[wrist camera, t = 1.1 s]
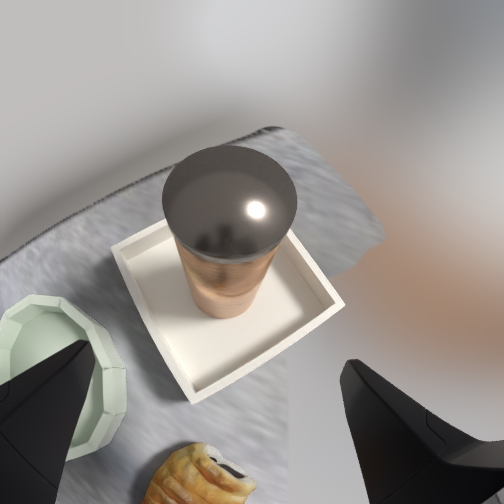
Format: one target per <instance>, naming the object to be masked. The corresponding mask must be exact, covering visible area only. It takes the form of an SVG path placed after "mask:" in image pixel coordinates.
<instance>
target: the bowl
mask: <svg viewBox="0 0 504 504" xmlns="http://www.w3.org/2000/svg"><path fill="white" fill-rule="evenodd" d="M79 339H83V340H87V341H90V343H91V345H92V348H93V352H94V355H95V360H96V362H95V367H94V371H93V374H92V378H91V382H90V386H89V389H88V393H87V397H86V400H85V403H84V406H83V409H82V411H81V414H80V417H79V420H78V423H77V426H76V429H75V432H74V435H73V438H72V441H71V444H70V447H69V451H68V454H67V457H66V461H68V460H72V459H74V458H77V457H80V456H83V455H86V454H89V453H91V452H94V451H96V450H98V449H100V448H102V447H104V446H105V445H107V444H109V443H110V442H111V440H112V438H113V437H114V435H115V433H116V431H117V429H118V427H119V426H120V424H121V422H122V420H123V418H124V416H125V415H126V413H127V394H126V369H125V366H124V364H123V362H122V360H121V358H120V356H119V354H118V352H117V350H116V348H115V346H114V344H113V341H112V339H111V337H110V335H109V333H108V331H107V329H106V328H104V327H103V326H102V325H100V324H99V323H98V322H97V321H95V320H94V319H93V318H91V317H90V316H89V315H88V314H87V313H85V312H84V311H83V310H82V309H80V308H79V307H78V306H76V305H74V304H73V303H71V302H69V301H68V300H66V299H64V298H63V297H55V296H43V295H32V294H31V295H29V296H27V297H26V298H24V299H23V300H21V301H20V302H18V303H17V304H15V305H14V306H12V307H11V308H9V309H8V310H7V311H5V312H4V314H3V317H2V319H1V321H0V385H2V384H3V383H5V382H7V381H8V380H11V379H12V378H14V377H15V376H17V375H19V374H20V373H22V372H24V371H25V370H27V369H29V368H31V367H32V366H34V365H36V364H37V363H39V362H41V361H43V360H44V359H46V358H48V357H49V356H51V355H53V354H55V353H56V352H58V351H60V350H61V349H63V348H65V347H67V346H68V345H70V344H72V343H74V342H75V341H77V340H79Z"/></svg>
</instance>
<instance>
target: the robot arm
mask: <svg viewBox="0 0 504 504" xmlns="http://www.w3.org/2000/svg"><path fill="white" fill-rule="evenodd" d="M95 362H96V360H95V355H94V352H93V348H92V345H91V343H90V341H87V340H83V339H79V340H77V341H75V342H74V343H72V344H70V345H68V346H67V347H65V348H63V349H61V350H60V351H58V352H56V353H55V354H53V355H51V356H49V357H48V358H46V359H44V360H43V361H41V362H39V363H37V364H36V365H34V366H32V367H31V368H29V369H27V370H25V371H24V372H22V373H20V374H19V375H17V376H15V377H14V378H12V379H11V380H8V381H7V382H5V383H3V384H2V385H0V504H55V501H56V497H57V492H58V488H59V483H60V479H61V476H62V472H63V468H64V464H65V461H66V457H67V454H68V451H69V447H70V444H71V441H72V438H73V435H74V432H75V429H76V426H77V423H78V420H79V417H80V414H81V411H82V409H83V406H84V403H85V400H86V397H87V393H88V389H89V386H90V382H91V378H92V374H93V371H94V367H95ZM340 385H341V390H342V396H343V401H344V407H345V413H346V418H347V422H348V425H349V428H350V432H351V435H352V439H353V441H354V446H355V449H356V453H357V457H358V460H359V464H360V468H361V471H362V475H363V479H364V483H365V487H366V491H367V495H368V499H369V503H370V504H504V440H501V441H492V442H486V441H481V440H478V439H476V438H473V437H471V436H470V435H468V434H466V433H464V432H463V431H461V430H459V429H457V428H455V427H453V426H451V425H450V424H448V423H447V422H445V421H443V420H442V419H440V418H439V417H437V416H436V415H434V414H432V412H430V411H429V410H427V409H425V408H424V407H423V406H422V405H420V404H419V403H418V402H416V401H415V400H413V399H412V398H411V397H409V396H408V395H406V394H405V393H404V392H402V391H401V390H399V389H398V388H397V387H395V386H394V385H393V384H391V383H390V382H388V381H387V380H386V379H384V378H383V377H382V376H380V375H379V374H378V373H376V372H375V371H374V370H372V369H371V368H370V367H368V366H367V365H365V364H364V363H363V362H361V361H360V360H358V359H351V360H347V361H346V363H345V366H344V368H343V371H342V373H341V376H340Z"/></svg>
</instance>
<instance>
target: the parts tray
mask: <svg viewBox="0 0 504 504" xmlns="http://www.w3.org/2000/svg"><path fill="white" fill-rule="evenodd" d="M110 248H111V250H112V253H113V255H114V258H115V260H116V262H117V265H118V267H119V270H120V272H121V274H122V277H123V279H124V281H125V283H126V286H127V288H128V290H129V292H130V294H131V297H132V299H133V301H134V303H135V305H136V307H137V309H138V311H139V313H140V315H141V317H142V319H143V321H144V323H145V325H146V327H147V329H148V331H149V333H150V335H151V337H152V339H153V340H154V342H155V344H156V346H157V348H158V350H159V351H160V353H161V355H162V357H163V359H164V360H165V362H166V364H167V365H168V367H169V369H170V371H171V372H172V374H173V376H174V377H175V379H176V381H177V382H178V384H179V385H180V387H181V389H182V390H183V392H184V393H185V395H186V396H187V398H188V400H189V401H190V403H191V404H192V405H194V404H195V403H197V402H199V401H201V400H203V399H205V398H206V397H208V396H210V395H212V394H214V393H215V392H217V391H219V390H221V389H222V388H224V387H226V386H227V385H229V384H231V383H233V382H234V381H236V380H238V379H239V378H241V377H243V376H244V375H246V374H247V373H249V372H251V371H252V370H254V369H255V368H257V367H259V366H260V365H262V364H263V363H265V362H266V361H268V360H269V359H271V358H272V357H274V356H276V355H277V354H279V353H280V352H282V351H283V350H284V349H286V348H287V347H289V346H290V345H292V344H293V343H295V342H296V341H298V340H299V339H300V338H302V337H303V336H305V335H306V334H307V333H309V332H310V331H312V330H313V329H314V328H316V327H317V326H319V325H320V324H321V323H323V322H324V321H325V320H327V319H328V318H329V317H331V316H332V315H333V314H335V313H336V312H337V311H339V310H340V309H341V308H342V307H344V306H345V304H344V302H343V301H342V299H341V298H340V296H339V295H338V294H337V292H336V291H335V289H334V288H333V287H332V285H331V284H330V282H329V281H328V280H327V278H326V277H325V275H324V274H323V273H322V271H321V270H320V268H319V267H318V266H317V264H316V263H315V262H314V260H313V259H312V258H311V256H310V255H309V253H308V252H307V251H306V249H305V248H304V247H303V245H302V244H301V243H300V241H299V240H298V239H297V237H296V236H295V235H294V233H293V232H292V231H291V229H289V231H288V233H287V235H286V236H285V238H284V239H283V241H282V242H281V243H280V245H279V247H278V249H277V251H276V253H275V256H274V258H273V260H272V262H271V264H270V266H269V269H268V271H267V273H266V275H265V277H264V279H263V281H262V284H261V286H260V288H259V290H258V292H257V294H256V296H255V299H254V301H253V303H252V304H251V306H250V307H249V308H248V309H247V310H246V311H245V312H244V313H242V314H241V315H239V316H237V317H234V318H230V319H218V318H214V317H211V316H209V315H207V314H205V313H204V312H203V311H201V310H200V309H199V307H198V306H197V305H196V303H195V302H194V300H193V297H192V294H191V291H190V288H189V285H188V282H187V279H186V276H185V273H184V269H183V266H182V263H181V260H180V257H179V253H178V250H177V247H176V243H175V240H174V236H173V235H172V233H171V231H170V229H169V227H168V224H167V221H166V219H164V220H162V221H160V222H158V223H156V224H154V225H152V226H150V227H148V228H146V229H144V230H142V231H140V232H138V233H136V234H134V235H133V236H131V237H129V238H127V239H125V240H123V241H121V242H119V243H118V244H116V245H114V246H112V247H110Z"/></svg>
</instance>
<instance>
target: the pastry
mask: <svg viewBox="0 0 504 504" xmlns="http://www.w3.org/2000/svg"><path fill="white" fill-rule="evenodd" d="M255 489H256V484H255V480H254V479H252V478H250V477H248V476H247V475H245V472H244V470H243V469H241V468H240V467H239V466H238V465H236V464H233V463H232V462H230V461H228V460H226V459H224V458H223V457H222V455H221V453H220V452H219V451H218V450H217V449H215V448H214V447H212V446H211V445H209V444H205V443H194V444H191V445H188V446H186V447H184V448H182V449H179V450H176V451H174V452H172V453H171V454H170V456H169V457H168V459H167V460H166V461H165V462H164V463H163V464H162V465H161V466H160V467H159V468H158V469H157V470H156V471H155V474H154V476H153V478H152V479H151V481H150V485H149V486H148V488H147V491H146V494H145V496H144V498H143V500H142V504H244V503H245V500H246V498H247V497H248V495H249V494H250V493H251V492H252V491H254V490H255Z"/></svg>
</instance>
